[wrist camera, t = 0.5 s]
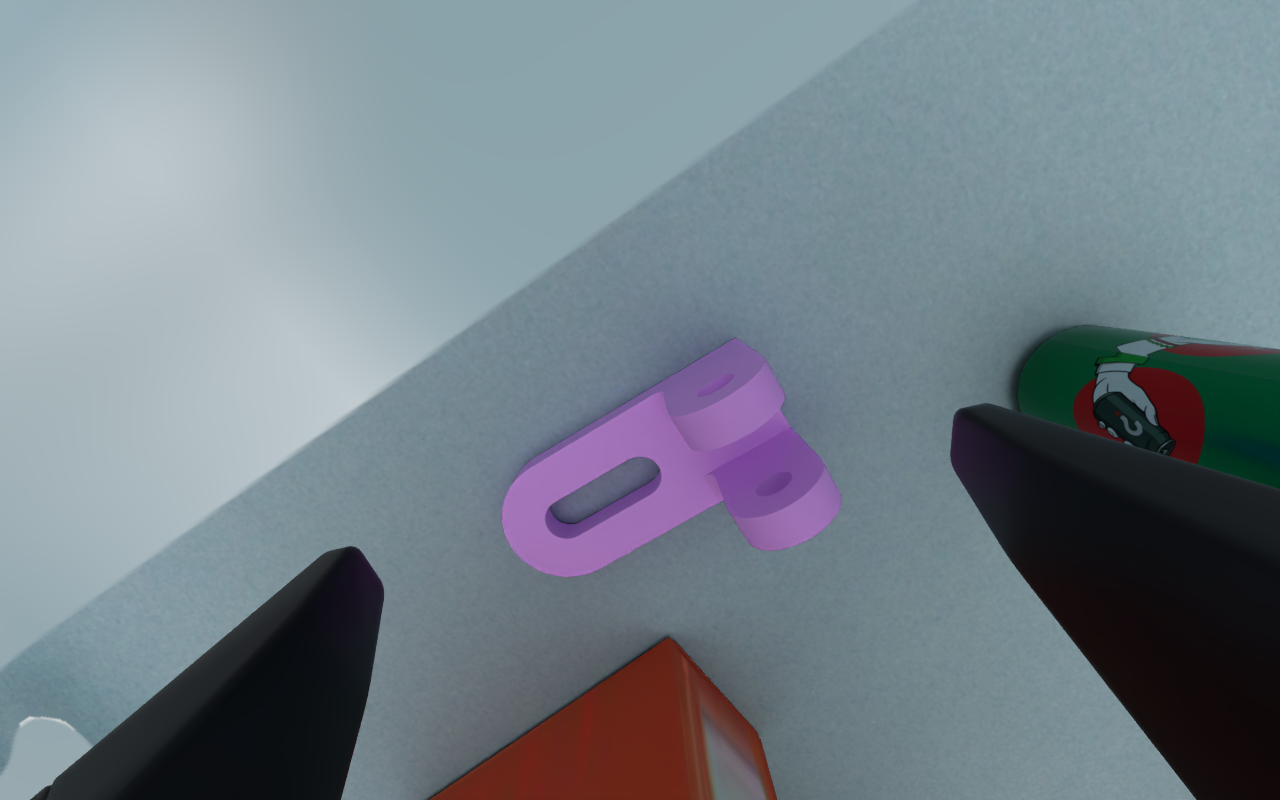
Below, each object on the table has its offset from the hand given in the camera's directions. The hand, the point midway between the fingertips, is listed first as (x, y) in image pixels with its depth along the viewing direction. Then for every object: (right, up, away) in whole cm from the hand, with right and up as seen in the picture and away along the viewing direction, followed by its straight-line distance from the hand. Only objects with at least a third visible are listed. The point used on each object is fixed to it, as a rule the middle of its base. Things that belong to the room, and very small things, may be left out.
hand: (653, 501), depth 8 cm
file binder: (-3, -18, +21) cm, 28 cm away
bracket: (0, -1, +16) cm, 17 cm away
